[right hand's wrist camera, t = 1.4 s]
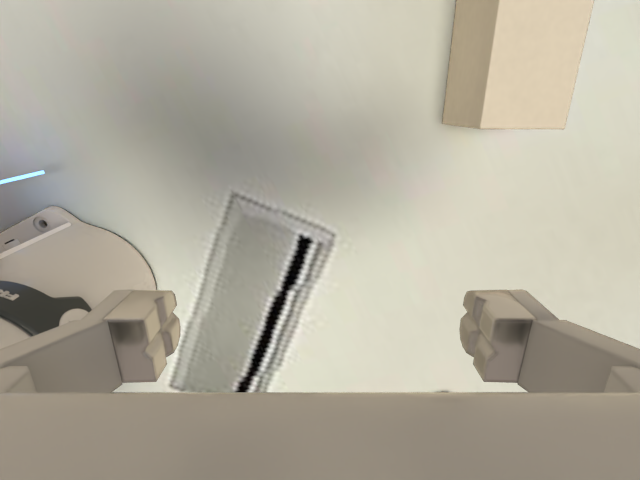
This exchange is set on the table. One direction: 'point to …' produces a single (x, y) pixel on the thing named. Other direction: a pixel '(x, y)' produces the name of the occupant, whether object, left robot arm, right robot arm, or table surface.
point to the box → (514, 62)
